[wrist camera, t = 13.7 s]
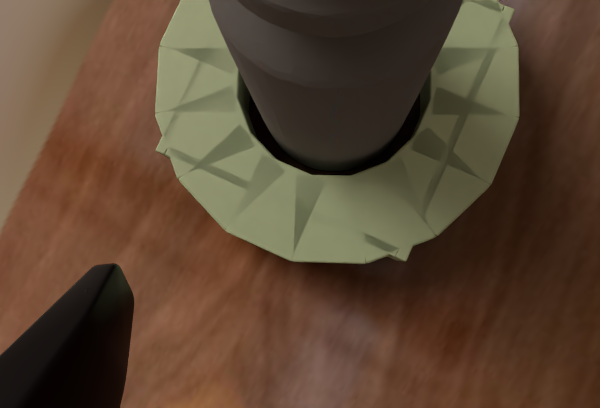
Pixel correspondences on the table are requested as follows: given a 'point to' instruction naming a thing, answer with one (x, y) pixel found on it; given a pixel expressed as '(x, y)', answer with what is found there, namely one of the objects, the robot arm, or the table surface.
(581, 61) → the table surface
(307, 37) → the bottle
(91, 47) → the table surface
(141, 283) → the table surface
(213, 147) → the holder
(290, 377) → the table surface
